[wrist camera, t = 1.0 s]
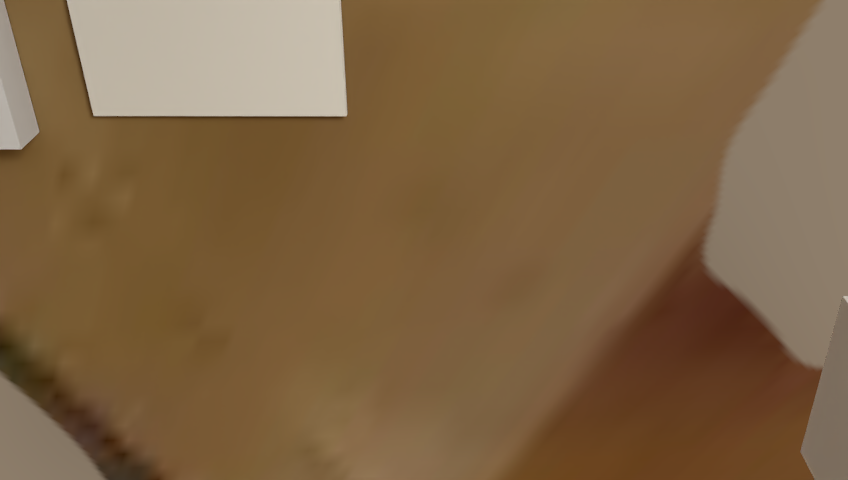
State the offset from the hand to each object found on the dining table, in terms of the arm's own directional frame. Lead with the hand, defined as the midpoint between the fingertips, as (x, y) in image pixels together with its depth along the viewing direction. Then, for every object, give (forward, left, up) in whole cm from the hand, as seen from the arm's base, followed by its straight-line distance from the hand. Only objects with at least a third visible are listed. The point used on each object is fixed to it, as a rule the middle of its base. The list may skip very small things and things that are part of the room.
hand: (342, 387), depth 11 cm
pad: (+1, -9, -28) cm, 29 cm away
